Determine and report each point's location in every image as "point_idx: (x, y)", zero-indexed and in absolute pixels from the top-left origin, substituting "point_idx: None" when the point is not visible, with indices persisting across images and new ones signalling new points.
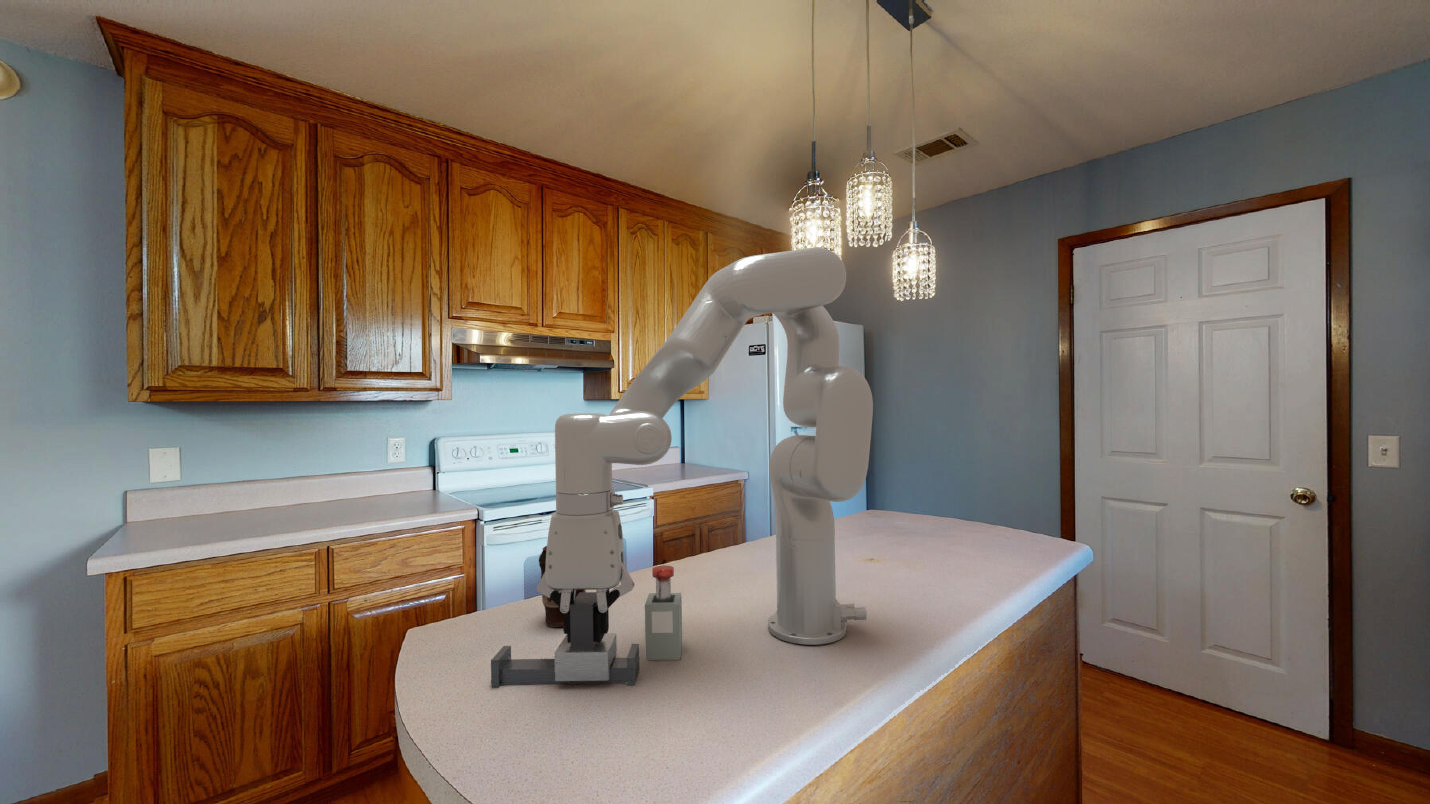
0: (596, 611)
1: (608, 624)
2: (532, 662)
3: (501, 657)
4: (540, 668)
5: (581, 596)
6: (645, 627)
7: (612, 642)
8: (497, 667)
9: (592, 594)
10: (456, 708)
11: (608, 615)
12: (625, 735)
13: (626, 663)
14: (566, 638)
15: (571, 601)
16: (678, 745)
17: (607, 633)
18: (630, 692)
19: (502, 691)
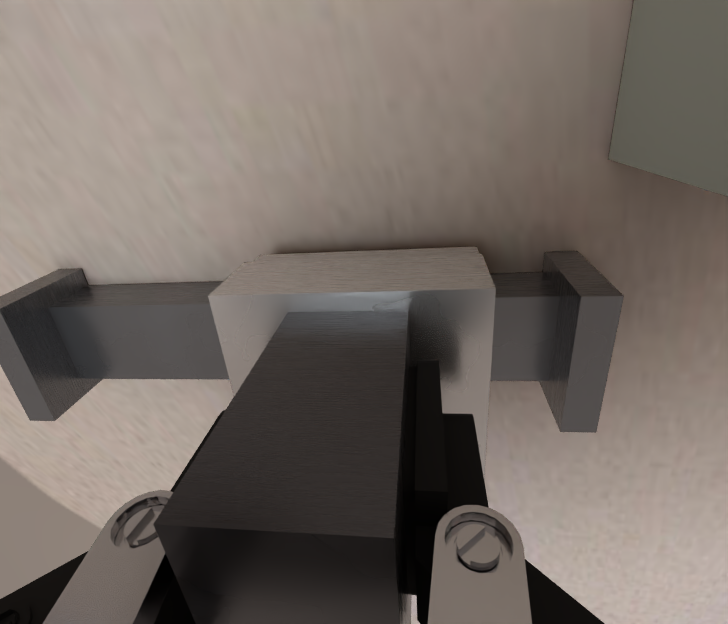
0: (409, 569)
1: (474, 430)
2: (150, 331)
3: (45, 394)
4: (207, 374)
5: (233, 606)
6: (704, 185)
7: (489, 389)
8: (71, 404)
9: (322, 582)
10: (91, 448)
11: (482, 471)
12: (546, 558)
13: (540, 347)
14: (234, 350)
15: (177, 586)
16: (675, 592)
17: (440, 293)
18: (547, 401)
19: (144, 383)
